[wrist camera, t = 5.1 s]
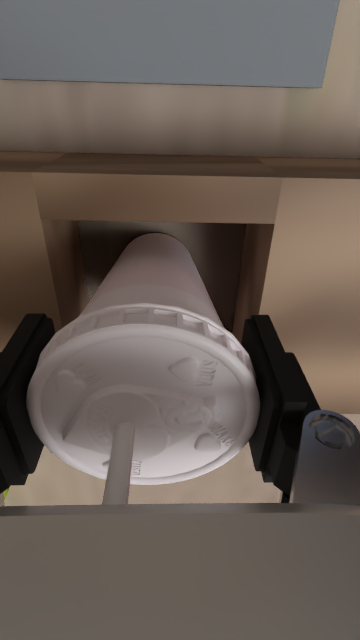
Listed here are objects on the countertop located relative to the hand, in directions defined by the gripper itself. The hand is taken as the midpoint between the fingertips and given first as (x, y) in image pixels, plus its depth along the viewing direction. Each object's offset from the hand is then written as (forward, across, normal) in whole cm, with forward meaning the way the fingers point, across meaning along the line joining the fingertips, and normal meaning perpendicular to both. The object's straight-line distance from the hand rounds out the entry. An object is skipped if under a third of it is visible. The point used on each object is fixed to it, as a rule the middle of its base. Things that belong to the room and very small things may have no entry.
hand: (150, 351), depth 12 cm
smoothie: (+7, 0, 0) cm, 7 cm away
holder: (+7, 0, 0) cm, 7 cm away
